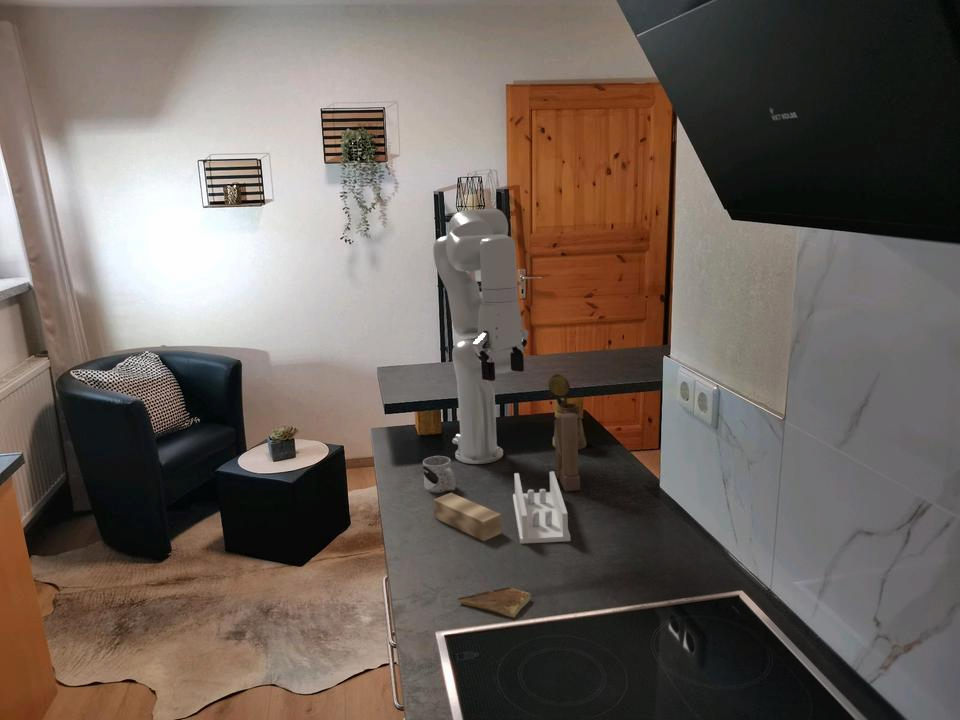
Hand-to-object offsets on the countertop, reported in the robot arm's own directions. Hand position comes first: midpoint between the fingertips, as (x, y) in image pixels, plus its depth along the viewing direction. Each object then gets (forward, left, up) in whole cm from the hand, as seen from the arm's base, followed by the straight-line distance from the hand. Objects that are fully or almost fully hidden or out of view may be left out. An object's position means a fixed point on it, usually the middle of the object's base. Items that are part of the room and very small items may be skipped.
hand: (503, 375), depth 161 cm
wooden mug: (-14, +40, -30) cm, 52 cm away
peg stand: (+10, -1, -30) cm, 31 cm away
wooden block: (+3, +18, -30) cm, 35 cm away
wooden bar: (0, -13, -30) cm, 33 cm away
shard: (+26, -32, -31) cm, 52 cm away
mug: (-18, -3, -30) cm, 35 cm away
